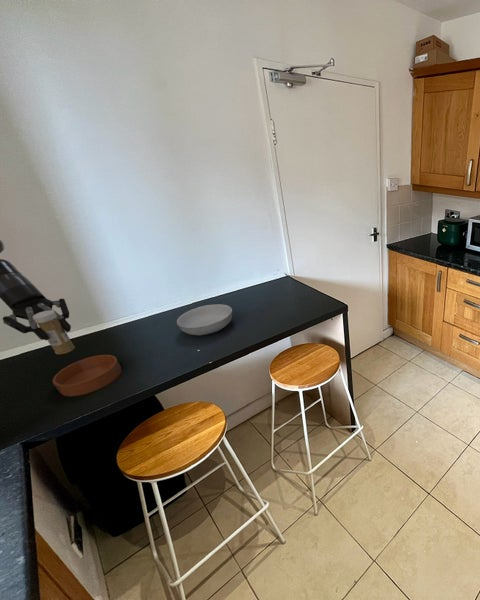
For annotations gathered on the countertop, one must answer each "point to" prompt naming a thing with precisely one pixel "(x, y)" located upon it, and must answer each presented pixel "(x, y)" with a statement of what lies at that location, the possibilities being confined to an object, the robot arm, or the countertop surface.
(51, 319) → the sprinkles bottle
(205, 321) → the serving bowl
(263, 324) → the countertop surface
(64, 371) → the pan
